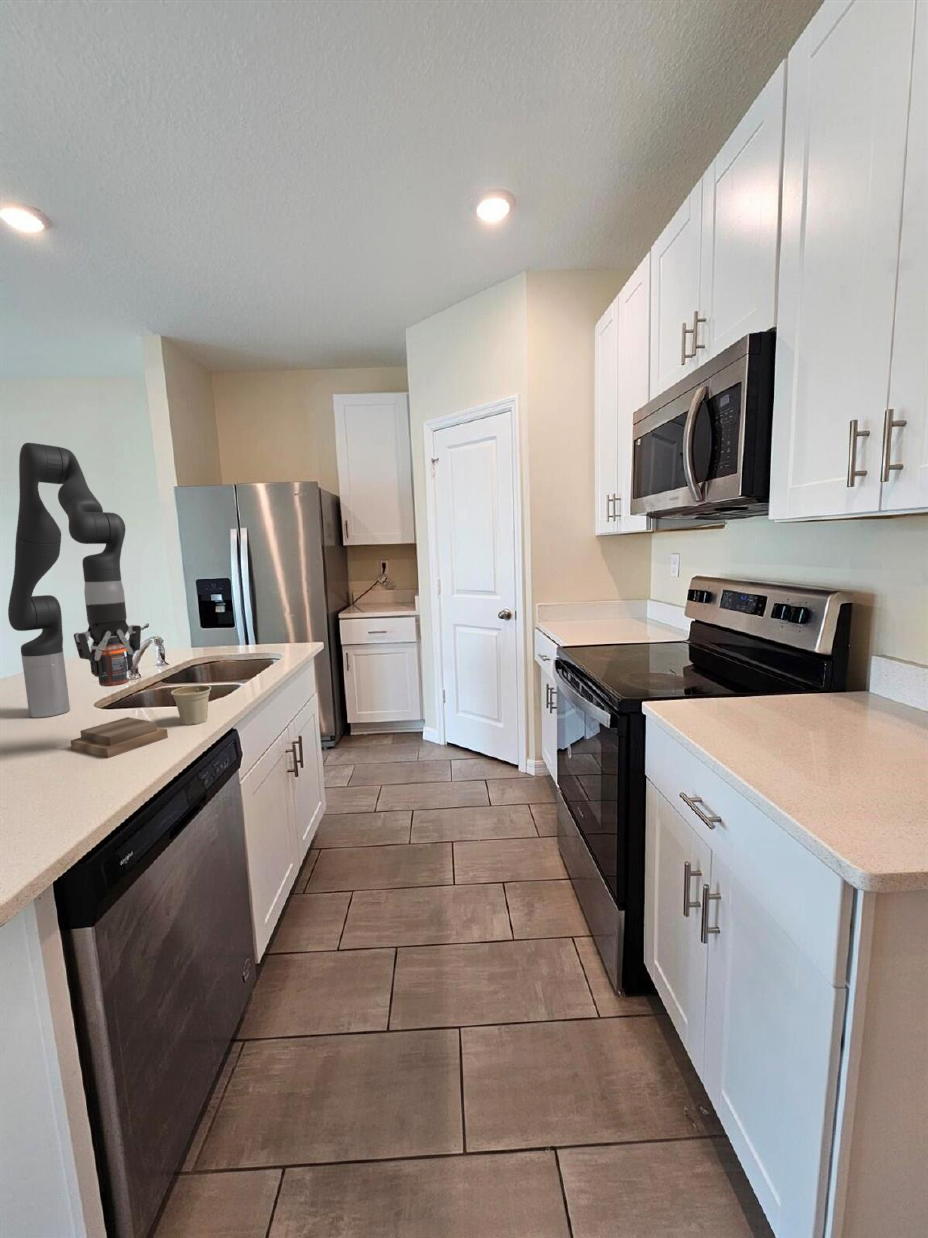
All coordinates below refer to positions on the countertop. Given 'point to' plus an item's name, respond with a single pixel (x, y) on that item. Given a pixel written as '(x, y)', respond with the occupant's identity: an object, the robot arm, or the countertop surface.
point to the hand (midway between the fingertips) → (113, 673)
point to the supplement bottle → (114, 663)
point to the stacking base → (119, 746)
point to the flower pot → (192, 703)
